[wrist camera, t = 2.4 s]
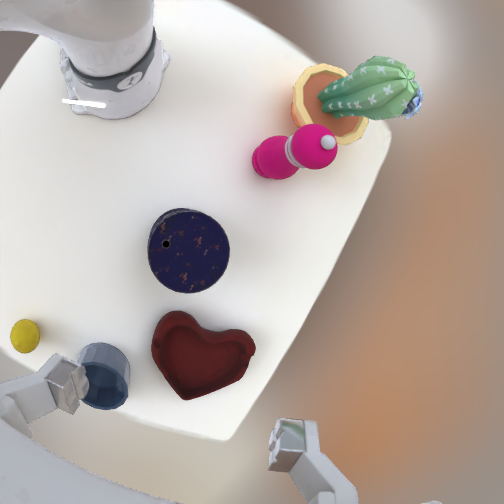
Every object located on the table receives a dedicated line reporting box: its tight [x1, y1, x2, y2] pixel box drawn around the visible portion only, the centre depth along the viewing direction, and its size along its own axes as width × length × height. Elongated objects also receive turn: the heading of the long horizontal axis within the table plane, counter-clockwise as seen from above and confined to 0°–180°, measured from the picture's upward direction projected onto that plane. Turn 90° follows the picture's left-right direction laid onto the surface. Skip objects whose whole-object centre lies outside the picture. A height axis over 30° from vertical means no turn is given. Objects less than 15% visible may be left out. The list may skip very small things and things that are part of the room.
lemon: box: [10, 319, 40, 353], centre depth 37 cm, size 6×6×8 cm
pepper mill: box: [252, 123, 337, 180], centre depth 40 cm, size 7×7×20 cm
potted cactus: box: [292, 56, 423, 145], centre depth 39 cm, size 15×15×25 cm
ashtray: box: [151, 311, 256, 400], centre depth 49 cm, size 18×16×5 cm
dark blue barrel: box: [147, 208, 230, 293], centre depth 40 cm, size 10×10×15 cm
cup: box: [76, 343, 130, 410], centre depth 43 cm, size 10×10×7 cm
